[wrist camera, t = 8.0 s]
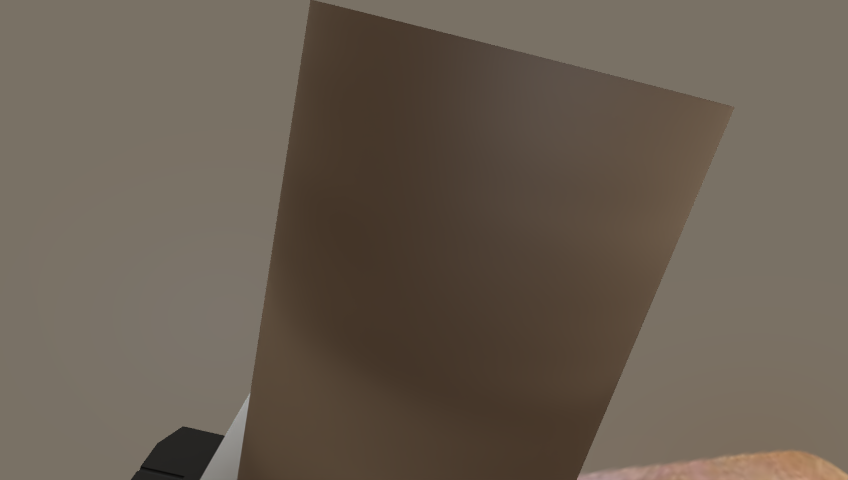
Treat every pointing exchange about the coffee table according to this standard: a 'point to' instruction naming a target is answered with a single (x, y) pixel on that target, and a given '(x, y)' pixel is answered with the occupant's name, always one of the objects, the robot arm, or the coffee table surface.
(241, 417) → the robot arm
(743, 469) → the coffee table surface
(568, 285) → the long dowel
